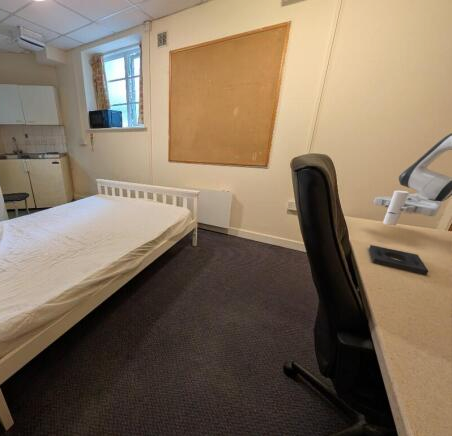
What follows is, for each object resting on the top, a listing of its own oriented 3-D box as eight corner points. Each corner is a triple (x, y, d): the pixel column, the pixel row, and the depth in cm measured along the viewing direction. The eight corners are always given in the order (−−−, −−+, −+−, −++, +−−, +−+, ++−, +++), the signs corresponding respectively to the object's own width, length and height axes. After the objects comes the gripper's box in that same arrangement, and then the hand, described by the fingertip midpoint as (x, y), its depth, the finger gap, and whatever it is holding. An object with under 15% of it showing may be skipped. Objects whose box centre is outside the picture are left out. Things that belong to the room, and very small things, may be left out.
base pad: (415, 258, 87) (417, 254, 87) (426, 275, 77) (428, 270, 76) (368, 248, 95) (370, 244, 95) (372, 262, 85) (374, 258, 84)
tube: (392, 222, 101) (404, 190, 96) (398, 226, 97) (411, 192, 92) (380, 221, 102) (392, 190, 97) (386, 225, 98) (398, 192, 93)
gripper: (385, 192, 109) (368, 195, 104) (447, 202, 91) (430, 206, 86) (381, 204, 111) (364, 207, 106) (440, 216, 93) (424, 221, 89)
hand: (394, 207), depth 96 cm, fingers closed on tube, 4 cm apart
